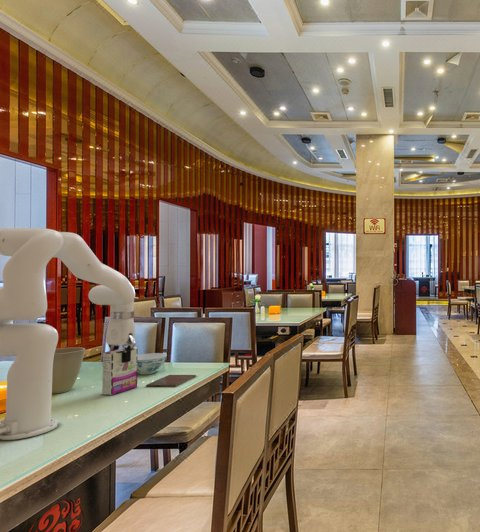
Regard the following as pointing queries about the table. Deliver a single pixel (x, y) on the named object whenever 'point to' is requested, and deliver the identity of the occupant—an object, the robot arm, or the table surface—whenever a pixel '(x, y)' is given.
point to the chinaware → (150, 362)
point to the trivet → (171, 381)
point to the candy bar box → (119, 372)
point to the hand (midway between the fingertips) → (120, 361)
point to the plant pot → (66, 368)
